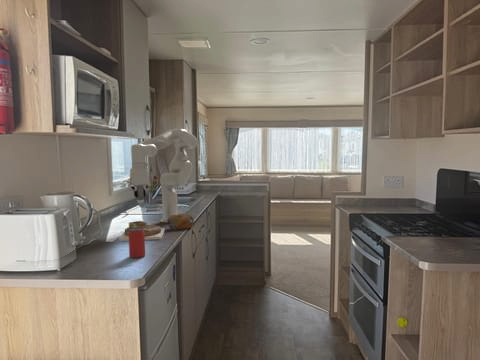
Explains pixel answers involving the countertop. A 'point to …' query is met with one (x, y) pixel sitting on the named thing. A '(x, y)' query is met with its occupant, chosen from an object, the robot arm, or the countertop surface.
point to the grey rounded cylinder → (140, 195)
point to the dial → (147, 228)
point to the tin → (180, 221)
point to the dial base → (150, 237)
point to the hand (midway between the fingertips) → (140, 196)
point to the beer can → (136, 243)
